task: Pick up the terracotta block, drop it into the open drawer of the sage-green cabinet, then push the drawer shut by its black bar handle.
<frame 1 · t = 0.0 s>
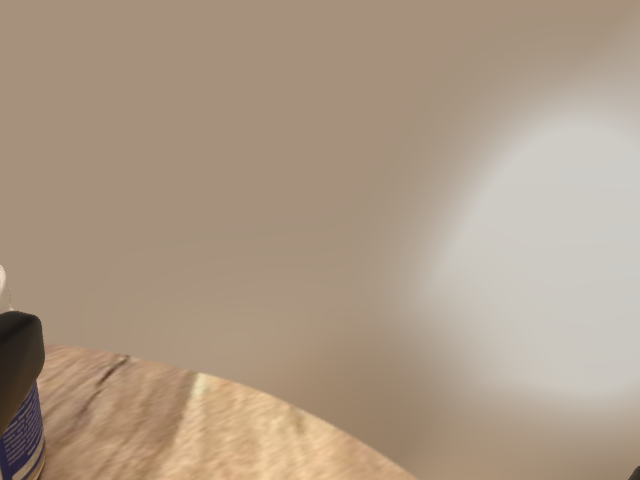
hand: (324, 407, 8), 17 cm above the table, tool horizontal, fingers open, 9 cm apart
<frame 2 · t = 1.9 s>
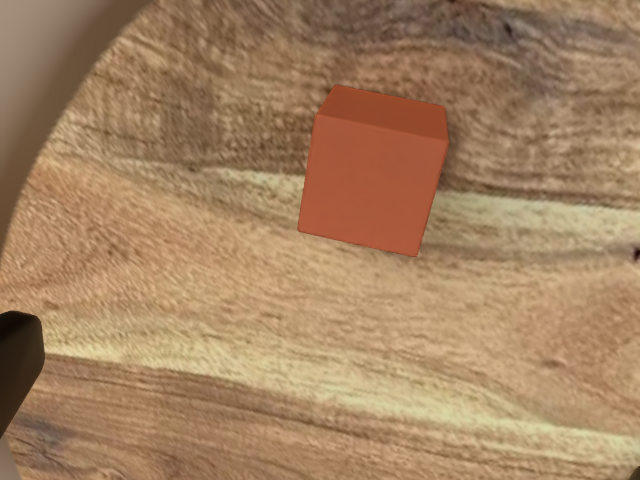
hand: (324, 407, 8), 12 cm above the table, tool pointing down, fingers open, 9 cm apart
block: (378, 148, 19), on the table
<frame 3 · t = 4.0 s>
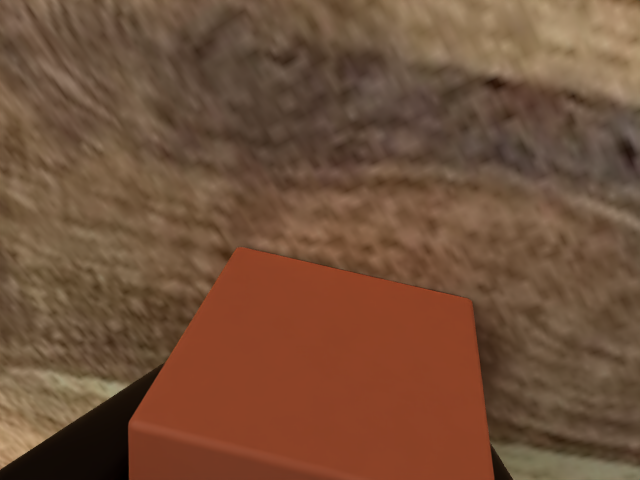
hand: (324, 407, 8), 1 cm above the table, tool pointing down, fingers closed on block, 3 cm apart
block: (333, 361, 9), on the table, touching gripper
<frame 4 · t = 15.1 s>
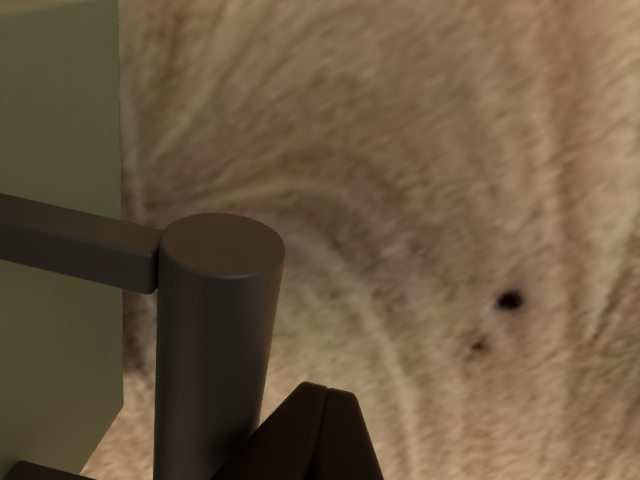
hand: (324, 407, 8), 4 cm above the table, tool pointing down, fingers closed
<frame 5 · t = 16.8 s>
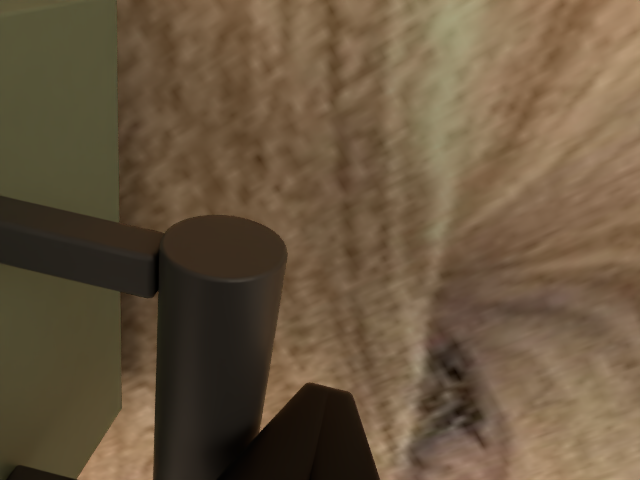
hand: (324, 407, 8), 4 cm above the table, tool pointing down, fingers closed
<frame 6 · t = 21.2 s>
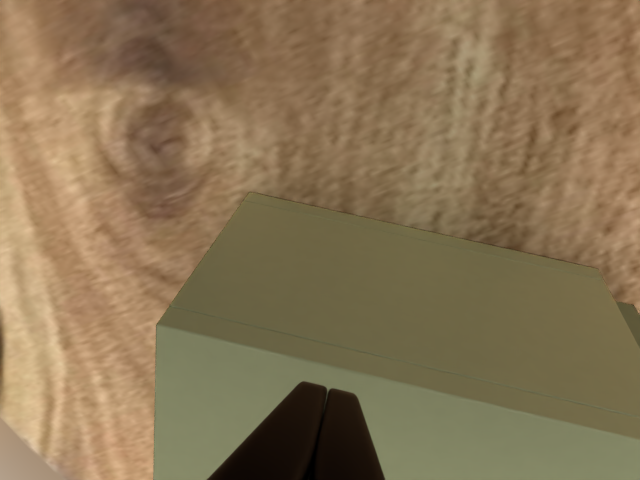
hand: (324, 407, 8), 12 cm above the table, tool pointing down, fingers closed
drawer: (488, 444, 19), point 4 cm above the table, slide at 0.0 cm, touching block
cabinet: (387, 343, 22), on the table
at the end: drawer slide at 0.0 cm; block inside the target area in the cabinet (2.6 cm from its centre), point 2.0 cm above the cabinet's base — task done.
